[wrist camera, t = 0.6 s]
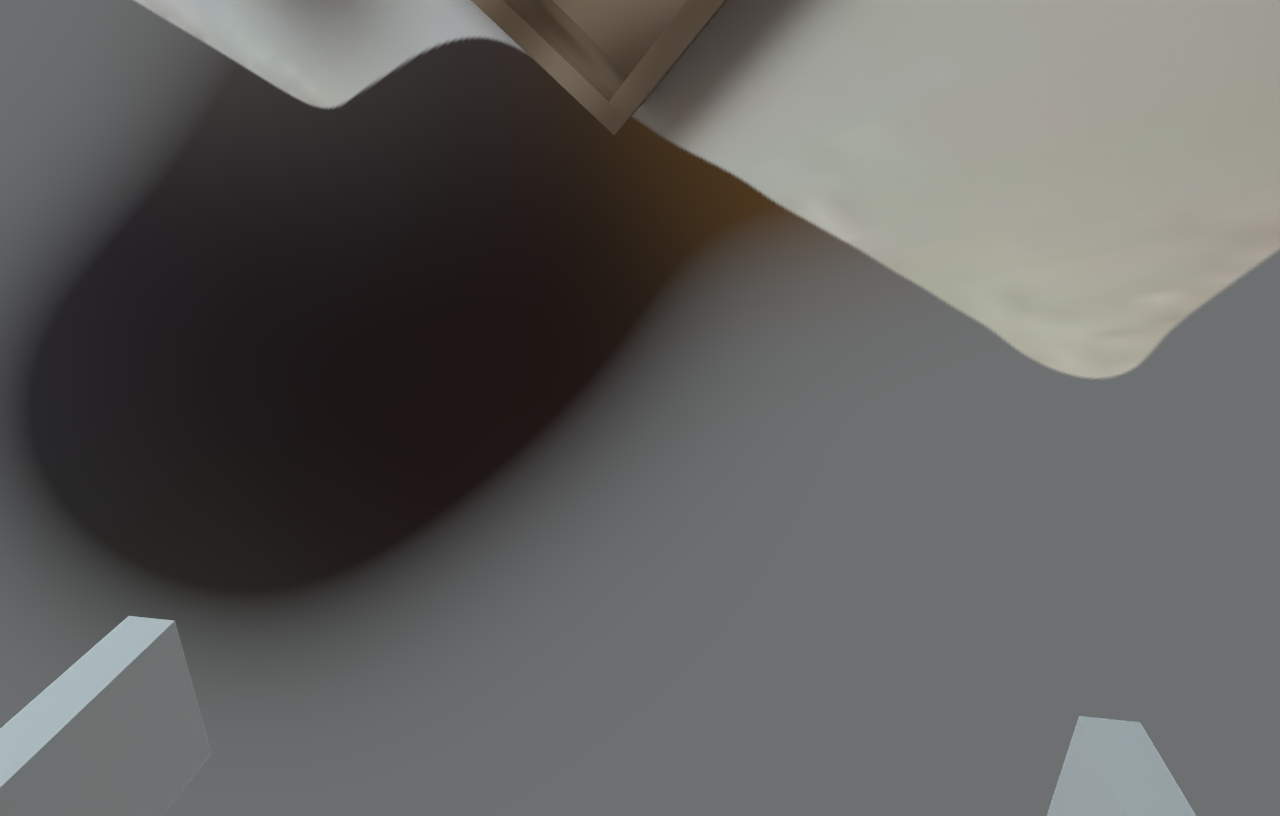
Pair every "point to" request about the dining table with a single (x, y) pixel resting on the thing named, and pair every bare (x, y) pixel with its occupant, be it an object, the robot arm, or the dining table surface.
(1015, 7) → the dining table surface
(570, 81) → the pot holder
